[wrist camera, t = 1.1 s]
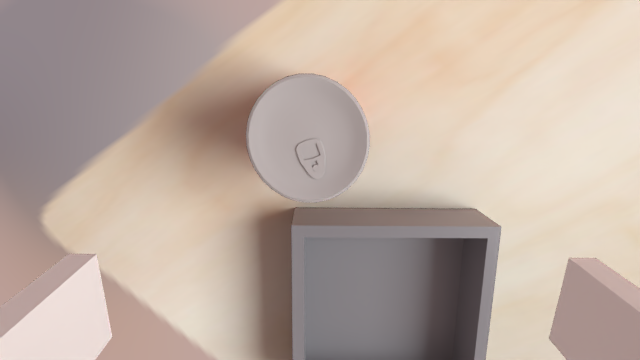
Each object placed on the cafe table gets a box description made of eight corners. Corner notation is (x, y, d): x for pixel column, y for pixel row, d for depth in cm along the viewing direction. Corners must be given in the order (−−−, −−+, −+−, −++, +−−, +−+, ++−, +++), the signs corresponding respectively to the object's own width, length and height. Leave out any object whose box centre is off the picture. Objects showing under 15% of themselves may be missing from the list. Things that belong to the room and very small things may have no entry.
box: (459, 365, 38) (480, 404, 33) (296, 364, 38) (293, 403, 33) (475, 208, 35) (501, 226, 30) (295, 207, 35) (291, 225, 30)
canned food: (300, 186, 34) (292, 226, 23) (250, 113, 33) (217, 120, 22) (371, 141, 33) (396, 160, 23) (322, 64, 32) (324, 45, 21)
